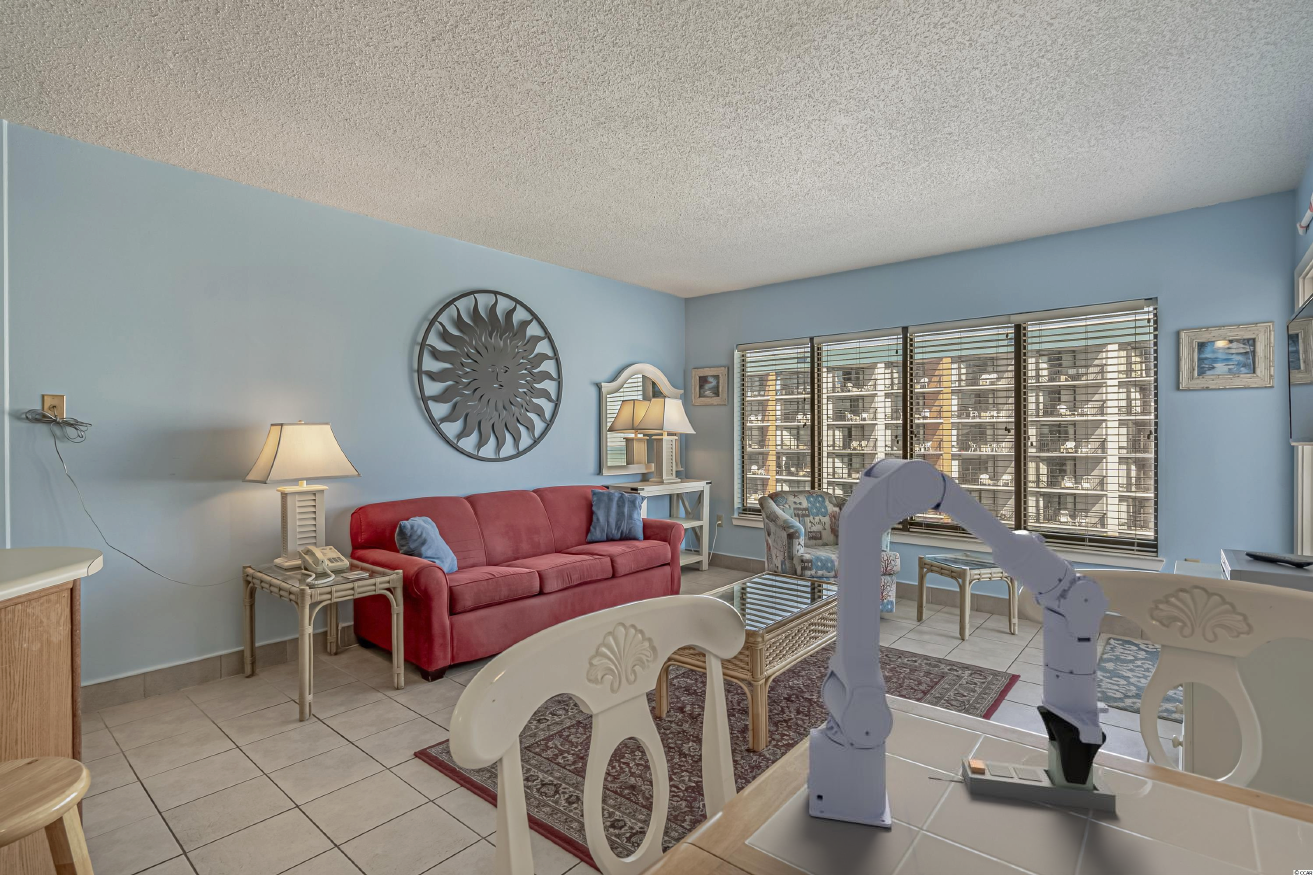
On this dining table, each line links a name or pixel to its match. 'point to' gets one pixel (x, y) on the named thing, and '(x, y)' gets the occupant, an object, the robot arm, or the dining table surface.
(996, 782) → the power strip
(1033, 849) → the dining table surface
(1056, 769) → the charger
